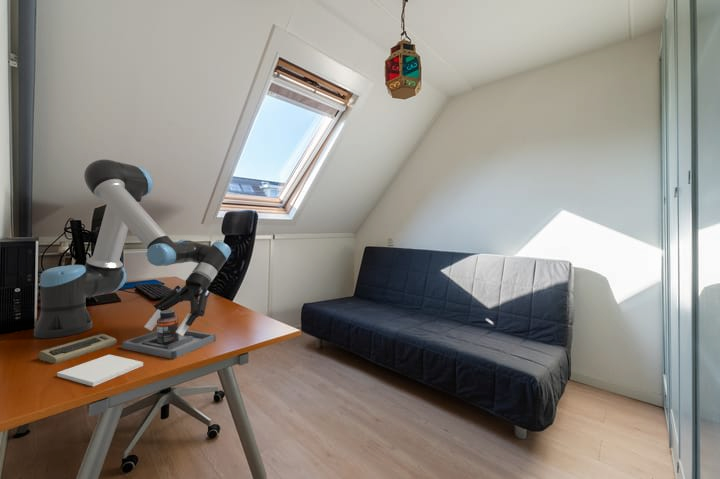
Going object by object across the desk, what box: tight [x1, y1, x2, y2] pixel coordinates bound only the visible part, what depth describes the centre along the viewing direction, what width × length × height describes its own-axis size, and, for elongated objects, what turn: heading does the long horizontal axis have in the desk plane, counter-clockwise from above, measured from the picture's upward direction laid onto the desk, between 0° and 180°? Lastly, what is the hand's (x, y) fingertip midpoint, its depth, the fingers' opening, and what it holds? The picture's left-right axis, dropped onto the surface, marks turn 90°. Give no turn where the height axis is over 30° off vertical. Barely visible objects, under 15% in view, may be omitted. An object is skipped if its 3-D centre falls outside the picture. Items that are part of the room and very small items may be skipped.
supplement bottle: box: [156, 309, 179, 345], centre depth 99 cm, size 6×6×11 cm
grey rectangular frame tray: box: [121, 329, 217, 360], centre depth 100 cm, size 22×16×2 cm
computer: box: [38, 333, 118, 365], centre depth 93 cm, size 16×8×3 cm, turn 160°
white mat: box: [56, 354, 144, 387], centre depth 81 cm, size 14×12×1 cm
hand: (162, 331), depth 97 cm, fingers open, 13 cm apart
